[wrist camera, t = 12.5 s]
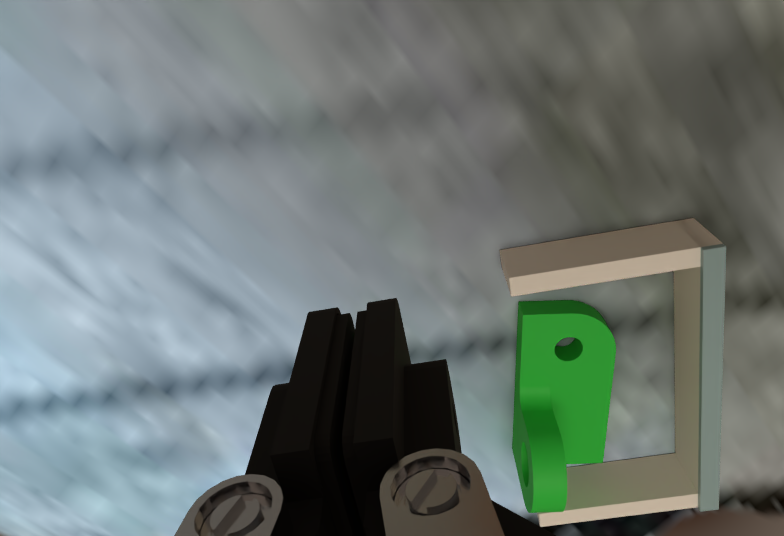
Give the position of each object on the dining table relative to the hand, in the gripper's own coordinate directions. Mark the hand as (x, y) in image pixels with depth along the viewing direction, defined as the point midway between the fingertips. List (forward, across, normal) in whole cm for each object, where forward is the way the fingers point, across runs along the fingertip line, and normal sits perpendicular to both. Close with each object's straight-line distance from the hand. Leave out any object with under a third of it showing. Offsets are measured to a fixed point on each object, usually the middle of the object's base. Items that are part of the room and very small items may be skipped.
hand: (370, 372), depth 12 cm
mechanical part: (+28, -8, +20) cm, 35 cm away
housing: (+27, -10, +20) cm, 35 cm away
